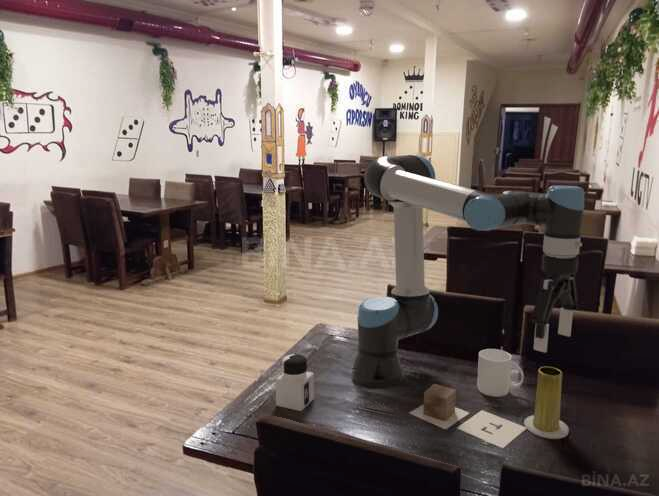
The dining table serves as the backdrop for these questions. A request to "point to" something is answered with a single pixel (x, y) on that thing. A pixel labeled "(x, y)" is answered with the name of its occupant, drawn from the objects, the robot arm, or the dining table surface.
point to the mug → (496, 372)
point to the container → (294, 383)
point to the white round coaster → (557, 434)
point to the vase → (548, 399)
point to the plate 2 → (492, 428)
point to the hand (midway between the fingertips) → (552, 342)
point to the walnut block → (439, 402)
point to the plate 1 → (443, 424)
